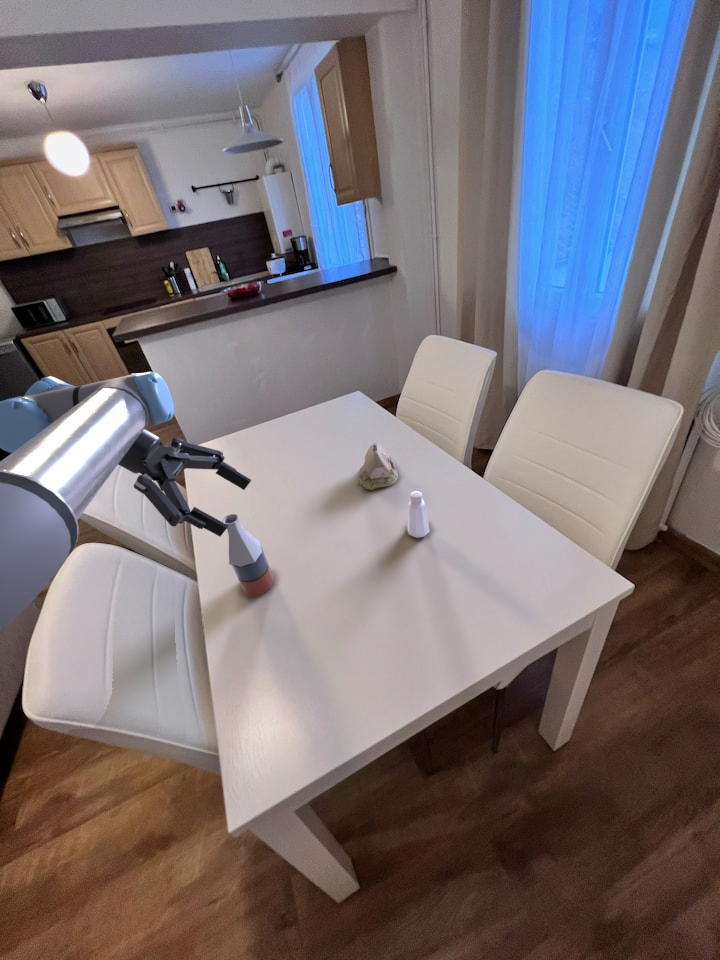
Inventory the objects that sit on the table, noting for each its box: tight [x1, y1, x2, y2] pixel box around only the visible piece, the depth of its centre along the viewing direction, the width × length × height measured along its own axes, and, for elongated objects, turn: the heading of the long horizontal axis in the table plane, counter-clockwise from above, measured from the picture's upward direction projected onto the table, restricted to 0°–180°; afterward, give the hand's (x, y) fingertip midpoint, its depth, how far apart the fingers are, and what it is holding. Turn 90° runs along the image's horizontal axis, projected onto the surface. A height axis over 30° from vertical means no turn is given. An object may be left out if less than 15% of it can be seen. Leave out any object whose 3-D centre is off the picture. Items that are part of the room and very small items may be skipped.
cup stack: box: [231, 546, 275, 597], centre depth 87 cm, size 7×7×9 cm
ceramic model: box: [359, 442, 399, 491], centre depth 114 cm, size 14×11×10 cm
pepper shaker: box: [406, 490, 431, 539], centre depth 93 cm, size 5×5×11 cm
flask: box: [222, 513, 263, 567], centre depth 81 cm, size 7×7×10 cm
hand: (237, 506), depth 76 cm, fingers open, 13 cm apart
